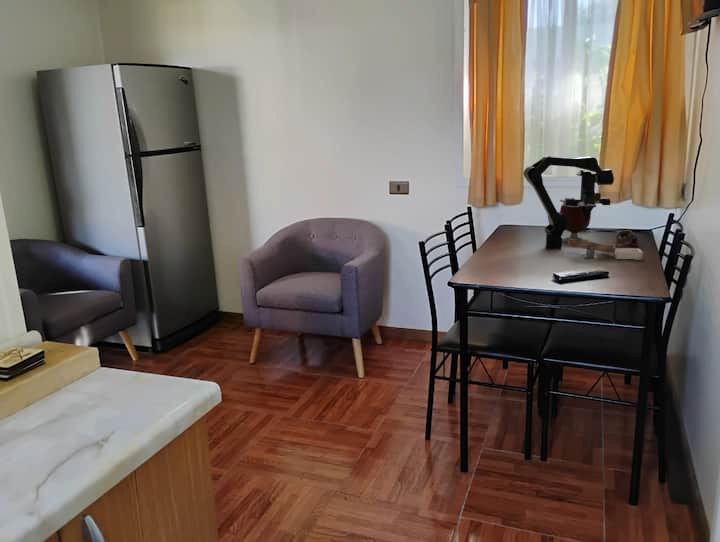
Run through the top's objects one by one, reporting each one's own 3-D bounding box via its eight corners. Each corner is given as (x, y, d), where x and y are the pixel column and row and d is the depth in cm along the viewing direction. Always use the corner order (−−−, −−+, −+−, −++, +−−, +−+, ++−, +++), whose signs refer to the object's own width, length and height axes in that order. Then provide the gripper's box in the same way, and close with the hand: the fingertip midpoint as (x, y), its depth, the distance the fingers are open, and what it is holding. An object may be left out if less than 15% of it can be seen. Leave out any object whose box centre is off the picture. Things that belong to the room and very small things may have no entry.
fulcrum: (585, 259, 250) (586, 247, 249) (582, 255, 258) (583, 243, 257) (598, 259, 249) (599, 247, 248) (594, 255, 257) (595, 243, 256)
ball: (640, 252, 248) (636, 258, 249) (639, 251, 251) (634, 257, 252) (634, 248, 248) (629, 254, 249) (632, 247, 251) (628, 253, 252)
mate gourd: (576, 236, 299) (578, 196, 294) (595, 241, 286) (598, 199, 281) (549, 239, 294) (551, 198, 290) (567, 244, 281) (570, 201, 277)
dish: (616, 259, 248) (616, 252, 247) (612, 255, 255) (613, 248, 255) (642, 259, 246) (643, 252, 246) (638, 256, 253) (638, 248, 253)
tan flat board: (569, 246, 252) (570, 239, 251) (565, 239, 265) (566, 233, 264) (614, 253, 249) (616, 246, 248) (607, 246, 262) (609, 240, 262)
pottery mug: (643, 248, 270) (637, 233, 266) (622, 257, 272) (616, 243, 269) (633, 237, 280) (628, 222, 277) (613, 245, 283) (607, 231, 279)
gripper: (568, 187, 262) (566, 223, 266) (614, 187, 258) (611, 223, 262) (564, 185, 273) (563, 219, 276) (608, 184, 269) (606, 219, 273)
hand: (585, 220), depth 271 cm, fingers closed
